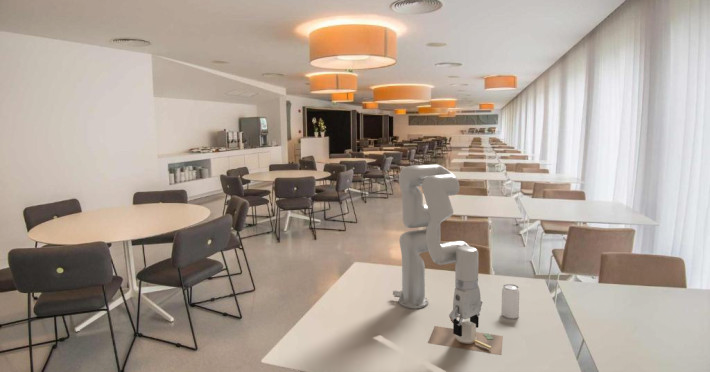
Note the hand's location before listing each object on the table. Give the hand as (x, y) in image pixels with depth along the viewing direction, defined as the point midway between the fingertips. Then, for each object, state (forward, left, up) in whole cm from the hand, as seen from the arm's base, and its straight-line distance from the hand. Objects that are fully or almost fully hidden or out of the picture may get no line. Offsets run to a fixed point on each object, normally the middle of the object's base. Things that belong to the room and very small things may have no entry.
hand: (466, 330), depth 146 cm
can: (+14, +28, -5) cm, 31 cm away
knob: (+3, -2, -3) cm, 4 cm away
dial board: (0, 0, -5) cm, 5 cm away
